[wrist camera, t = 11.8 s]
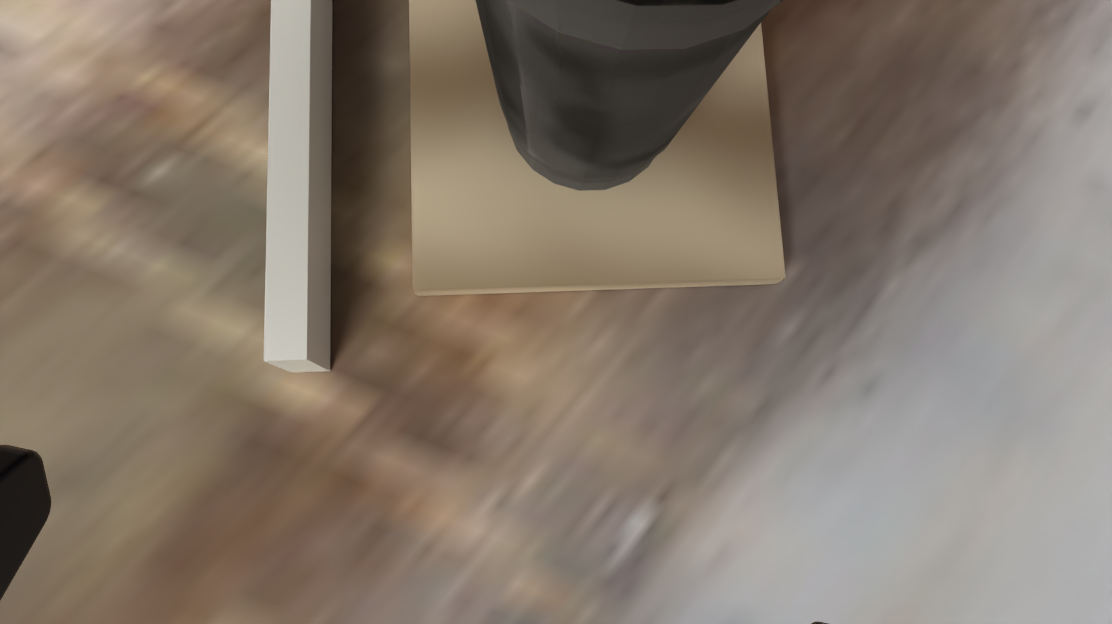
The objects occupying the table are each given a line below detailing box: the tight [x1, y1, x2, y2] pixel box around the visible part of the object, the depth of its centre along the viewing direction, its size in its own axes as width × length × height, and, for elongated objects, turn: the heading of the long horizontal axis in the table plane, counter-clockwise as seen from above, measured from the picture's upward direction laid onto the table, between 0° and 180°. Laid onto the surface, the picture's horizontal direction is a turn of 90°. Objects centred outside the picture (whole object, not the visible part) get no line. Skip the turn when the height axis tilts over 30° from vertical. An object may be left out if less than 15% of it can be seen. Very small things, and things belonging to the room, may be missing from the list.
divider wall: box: [264, 0, 332, 373], centre depth 22 cm, size 14×1×2 cm, turn 2°
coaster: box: [409, 0, 786, 296], centre depth 23 cm, size 10×10×1 cm
